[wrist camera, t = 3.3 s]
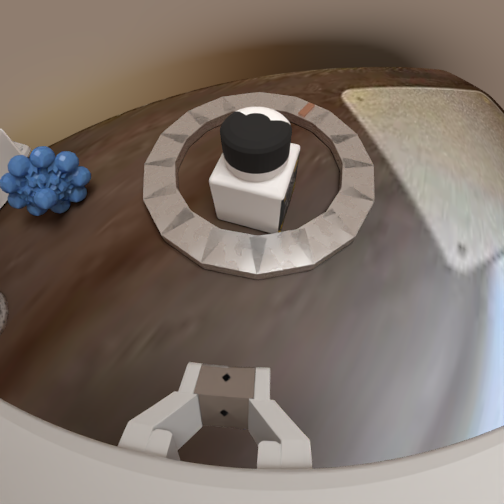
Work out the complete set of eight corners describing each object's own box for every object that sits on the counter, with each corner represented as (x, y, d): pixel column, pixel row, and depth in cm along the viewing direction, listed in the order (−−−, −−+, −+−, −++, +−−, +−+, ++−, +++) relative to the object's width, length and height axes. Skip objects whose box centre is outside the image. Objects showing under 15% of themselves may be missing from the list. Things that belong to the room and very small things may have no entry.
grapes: (37, 252, 32) (-19, 205, 21) (35, 214, 35) (-12, 165, 24) (106, 213, 34) (60, 150, 23) (99, 177, 37) (61, 115, 26)
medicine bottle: (278, 236, 32) (287, 161, 21) (216, 219, 33) (198, 143, 22) (294, 185, 35) (306, 106, 24) (237, 172, 36) (230, 93, 25)
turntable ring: (106, 198, 35) (100, 189, 33) (236, 83, 44) (235, 74, 42) (297, 331, 28) (300, 327, 26) (397, 155, 37) (401, 146, 35)
